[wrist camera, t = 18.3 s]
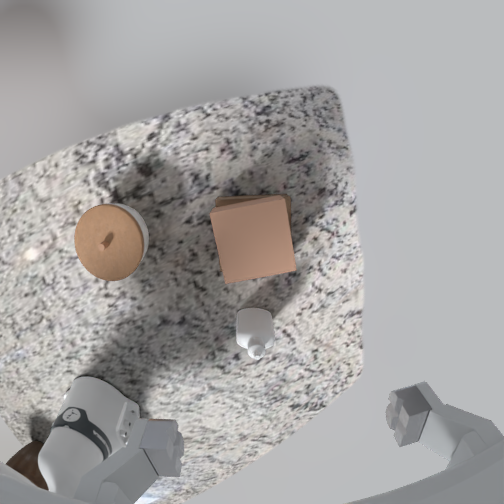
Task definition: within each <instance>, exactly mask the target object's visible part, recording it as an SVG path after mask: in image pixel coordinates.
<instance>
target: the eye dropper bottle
mask: <svg viewBox="0 0 504 504" xmlns="http://www.w3.org/2000/svg"><path fill="white" fill-rule="evenodd" d="M236 342H237V344H238V345H239V346H241V347H243V348H246V349H248V355H249V356H250V357H251V358H254V359H256V360H259V359H260V358H262V357H263V356H264V355H265V353H266V349H267V348H269V347H271V346H273V345H274V342H275V331H274V326H273V321H272V315H271V313H270V312H269V311H267V310H264V309H261V308H245V309H242V310H239V311H238V313H237V327H236Z"/></svg>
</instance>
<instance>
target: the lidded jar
mask: <svg viewBox="0 0 504 504" xmlns="http://www.w3.org/2000/svg"><path fill="white" fill-rule="evenodd" d="M148 244H149V233H148V228H147V225H146V223H145V221H144V219H143V218H142V216H141V215H140V214H139V213H138V212H137V211H136V210H134V209H133V208H131V207H129V206H127V205H124V204H119V203H109V204H102V205H98V206H95V207H93V208H91V209H89V210H88V211H86V212H85V213H84V214H83V215H82V217H81V218H80V220H79V222H78V224H77V227H76V230H75V248H76V252H77V255H78V257H79V259H80V261H81V263H82V264H83V266H84V267H85V268H86V269H87V270H88V271H89V272H90V273H91V274H93V275H94V276H96V277H98V278H100V279H103V280H107V281H117V280H121V279H124V278H126V277H128V276H129V275H130V274H132V273H133V272H134V271H135V269H136V268H137V267H138V265H139V264H140V263H141V261H142V260H143V258H144V256H145V254H146V252H147V248H148Z"/></svg>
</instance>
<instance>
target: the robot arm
mask: <svg viewBox="0 0 504 504" xmlns="http://www.w3.org/2000/svg"><path fill="white" fill-rule="evenodd" d="M64 399H65V400H64V402H63V404H62V406H61V409H60V411H59V413H58V415H57V418H56V420H55V422H53V424H52V427H51V431H50V432H51V433H50V435H49V437H48V438H47V440H46V442H45V444H44V445H43V447H42V449H41V451H40V452H39V455H38V466H39V469H40V472H41V474H42V475H43V477H44V479H45V481H46V483H47V485H48V488H49V491H47V490H44V489H41V488H38V487H37V486H36V485H34V484H33V483H32V482H31V481H29V480H28V479H27V478H26V477H24V476H23V475H21V474H20V473H18V472H17V471H15V470H14V469H12V468H10V467H9V466H7V465H6V464H4V463H3V462H1V461H0V504H134V503H135V502H136V501H137V500H138V499H139V498H140V497H141V496H142V495H143V493H144V492H145V491H146V490H147V489H148V488H149V487H150V486H151V485H152V484H153V483H154V482H155V481H156V480H157V479H158V478H159V477H158V476H167V477H180V472H181V466H182V463H181V461H180V458H181V457H182V456H183V454H184V441H183V437H182V434H181V433H180V432H178V424H177V422H176V420H171V419H145V418H140V411H139V405H138V404H137V403H135V402H134V401H132V400H130V399H128V398H126V397H125V396H124V395H122V394H121V393H120V392H119V391H118V390H117V389H116V388H114V387H113V386H112V385H110V384H108V383H107V382H105V381H102V380H100V379H97V378H94V377H79V378H77V379H75V380H74V381H73V383H72V385H71V388H70V390H69V391H67V392H66V393H65V394H64ZM389 400H390V402H391V403H390V404H389V405H388V406H387V409H386V420H387V423H388V425H389V427H390V428H391V429H393V430H395V433H394V437H395V439H396V441H397V443H398V445H399V447H401V446H405V445H408V444H411V443H414V442H417V441H419V443H421V444H422V445H424V446H425V447H427V448H429V449H430V450H432V451H434V452H435V453H437V454H439V455H440V456H442V457H444V458H445V459H447V460H448V461H450V462H449V464H448V466H447V468H446V469H445V470H444V471H442V472H440V473H437V474H435V475H432V476H430V477H428V478H425V479H423V480H420V481H417V482H415V483H412V484H410V485H407V486H404V487H401V488H398V489H395V490H392V491H389V492H386V493H382V494H379V495H376V496H372V497H369V498H365V499H361V500H357V501H354V502H349V503H345V504H504V436H503V435H502V434H501V432H500V431H499V430H498V428H497V427H496V426H495V425H494V423H493V422H492V421H491V420H488V419H485V418H482V417H479V416H477V415H474V414H472V413H469V412H466V411H463V410H461V409H458V408H456V407H453V406H450V405H448V404H446V405H443V403H442V402H441V400H440V399H439V398H438V397H437V395H436V394H435V393H434V391H433V390H432V389H431V387H430V386H429V385H428V384H427V382H421V383H418V384H415V385H411V386H408V387H405V388H402V389H398V390H394V391H391V393H390V395H389Z"/></svg>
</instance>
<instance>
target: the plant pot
mask: <svg viewBox="0 0 504 504" xmlns="http://www.w3.org/2000/svg"><path fill="white" fill-rule="evenodd" d="M43 445H44V444H43V443H41V442H39V441H36V440H35V441H32V442H31V443H29V444H28V445H26V446H25V447H23V448H22V449H21V450H19V451H18V452H17V453H16V454H15V455H14V456H13V457H12V458H11V459H10V460H9V461H8V462H7V463H6V465H7V466H9V467H10V468H12V469H14V470H15V471H17V472H18V473H20V474H21V475H23V476H24V477H26V478H27V479H28V480H29V481H31V482H32V483H33V484H34V485H36V486H37V487H38V488H41V489H44V490H47V491H49V488H48V485H47V483H46V481H45V479H44V477H43V475H42V474H41V472H40V469H39V466H38V455H39V452H40V451H41V449H42V447H43Z"/></svg>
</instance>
